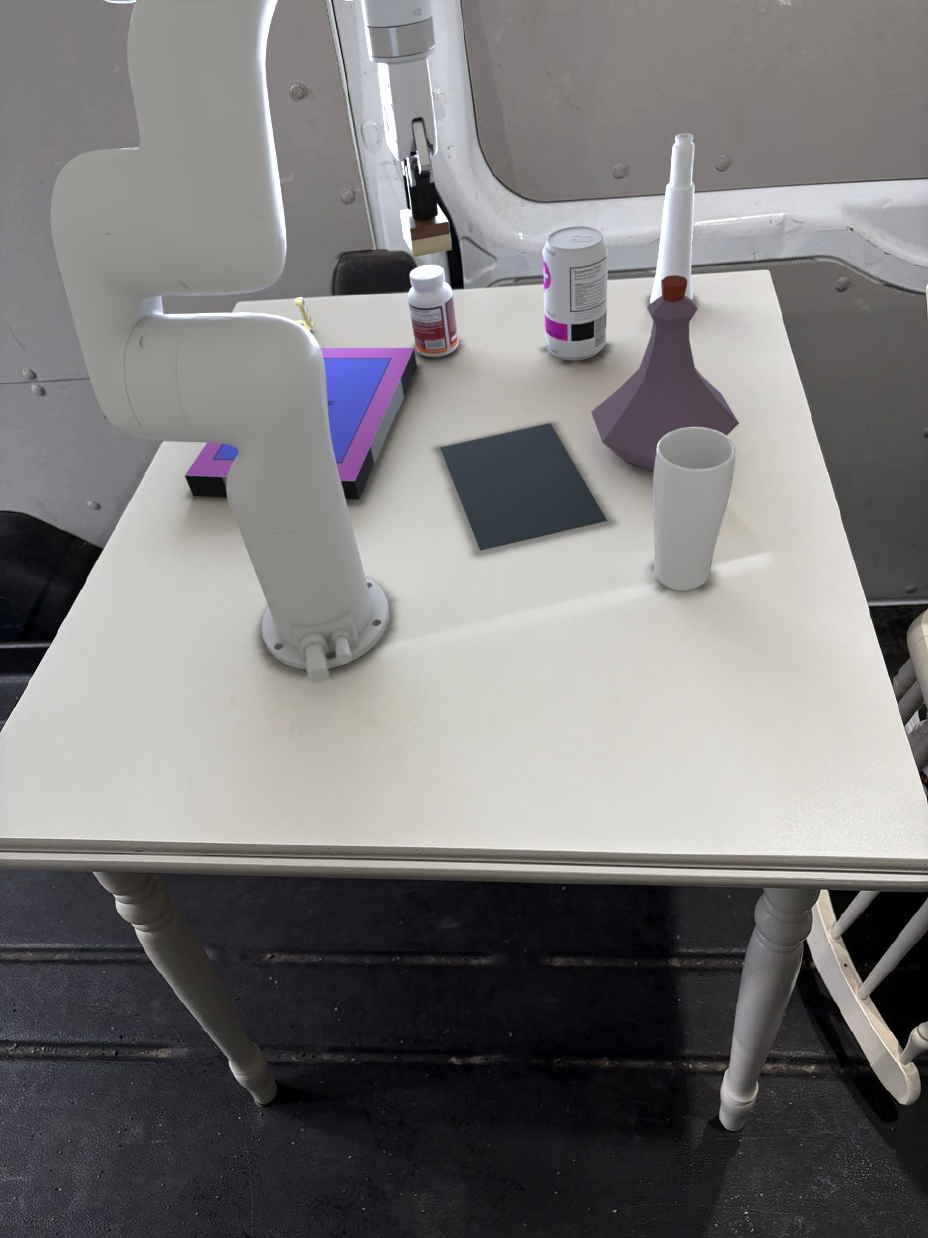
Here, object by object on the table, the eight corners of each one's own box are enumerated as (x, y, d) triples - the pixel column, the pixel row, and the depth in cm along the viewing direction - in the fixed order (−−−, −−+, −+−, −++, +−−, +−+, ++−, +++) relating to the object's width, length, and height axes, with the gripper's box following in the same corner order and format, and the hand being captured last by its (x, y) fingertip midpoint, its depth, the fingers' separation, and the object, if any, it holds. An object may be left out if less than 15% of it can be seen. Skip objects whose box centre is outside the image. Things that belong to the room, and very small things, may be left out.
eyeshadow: (280, 327, 129) (272, 296, 125) (312, 322, 129) (305, 290, 126) (281, 340, 126) (273, 309, 122) (314, 334, 126) (306, 303, 122)
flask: (576, 484, 94) (575, 316, 80) (603, 405, 105) (607, 244, 90) (727, 500, 90) (755, 324, 75) (739, 415, 100) (766, 247, 86)
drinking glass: (664, 606, 80) (676, 478, 69) (635, 562, 84) (642, 436, 74) (729, 588, 80) (752, 459, 70) (697, 545, 85) (713, 418, 74)
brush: (451, 249, 106) (443, 169, 100) (413, 257, 106) (402, 176, 99) (440, 230, 111) (431, 152, 105) (403, 237, 111) (392, 159, 104)
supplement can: (540, 361, 114) (535, 250, 103) (553, 331, 119) (550, 223, 109) (599, 364, 112) (601, 251, 101) (610, 334, 117) (613, 224, 106)
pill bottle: (441, 332, 122) (431, 257, 115) (467, 346, 119) (459, 269, 111) (407, 349, 120) (395, 273, 112) (433, 363, 116) (422, 286, 109)
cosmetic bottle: (701, 302, 121) (719, 134, 105) (668, 315, 119) (681, 146, 103) (673, 288, 125) (687, 124, 109) (641, 301, 123) (650, 136, 107)
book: (414, 347, 114) (354, 480, 94) (417, 367, 116) (359, 502, 96) (270, 347, 118) (184, 475, 98) (276, 367, 120) (193, 495, 100)
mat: (607, 523, 89) (607, 520, 89) (480, 552, 88) (480, 550, 87) (550, 425, 103) (550, 422, 103) (440, 449, 102) (439, 447, 101)
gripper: (357, 32, 98) (383, 197, 111) (379, 60, 87) (405, 240, 100) (419, 21, 99) (438, 187, 112) (449, 48, 88) (466, 229, 101)
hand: (422, 210), depth 106 cm, fingers closed on brush, 3 cm apart
